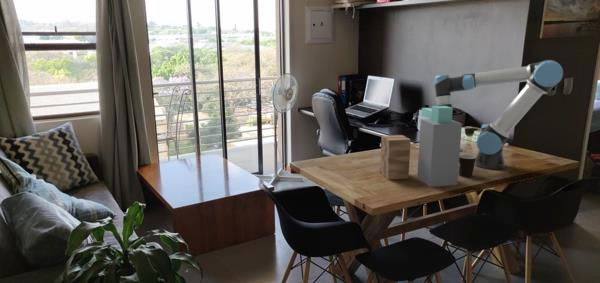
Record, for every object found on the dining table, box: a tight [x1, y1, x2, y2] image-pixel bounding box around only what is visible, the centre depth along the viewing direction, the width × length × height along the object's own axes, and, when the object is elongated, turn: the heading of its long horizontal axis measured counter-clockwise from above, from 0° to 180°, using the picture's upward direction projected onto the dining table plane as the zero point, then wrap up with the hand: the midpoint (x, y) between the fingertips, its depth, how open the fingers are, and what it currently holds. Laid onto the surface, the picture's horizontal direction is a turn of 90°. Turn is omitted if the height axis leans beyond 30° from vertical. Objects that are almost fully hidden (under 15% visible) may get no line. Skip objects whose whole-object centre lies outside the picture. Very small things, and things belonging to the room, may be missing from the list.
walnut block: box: [379, 134, 411, 180], centre depth 227 cm, size 11×11×20 cm
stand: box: [417, 118, 463, 188], centre depth 216 cm, size 14×14×30 cm
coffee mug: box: [458, 154, 477, 178], centre depth 229 cm, size 12×9×10 cm
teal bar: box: [421, 105, 454, 123], centre depth 218 cm, size 21×7×7 cm, turn 10°
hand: (448, 144), depth 237 cm, fingers open, 13 cm apart
